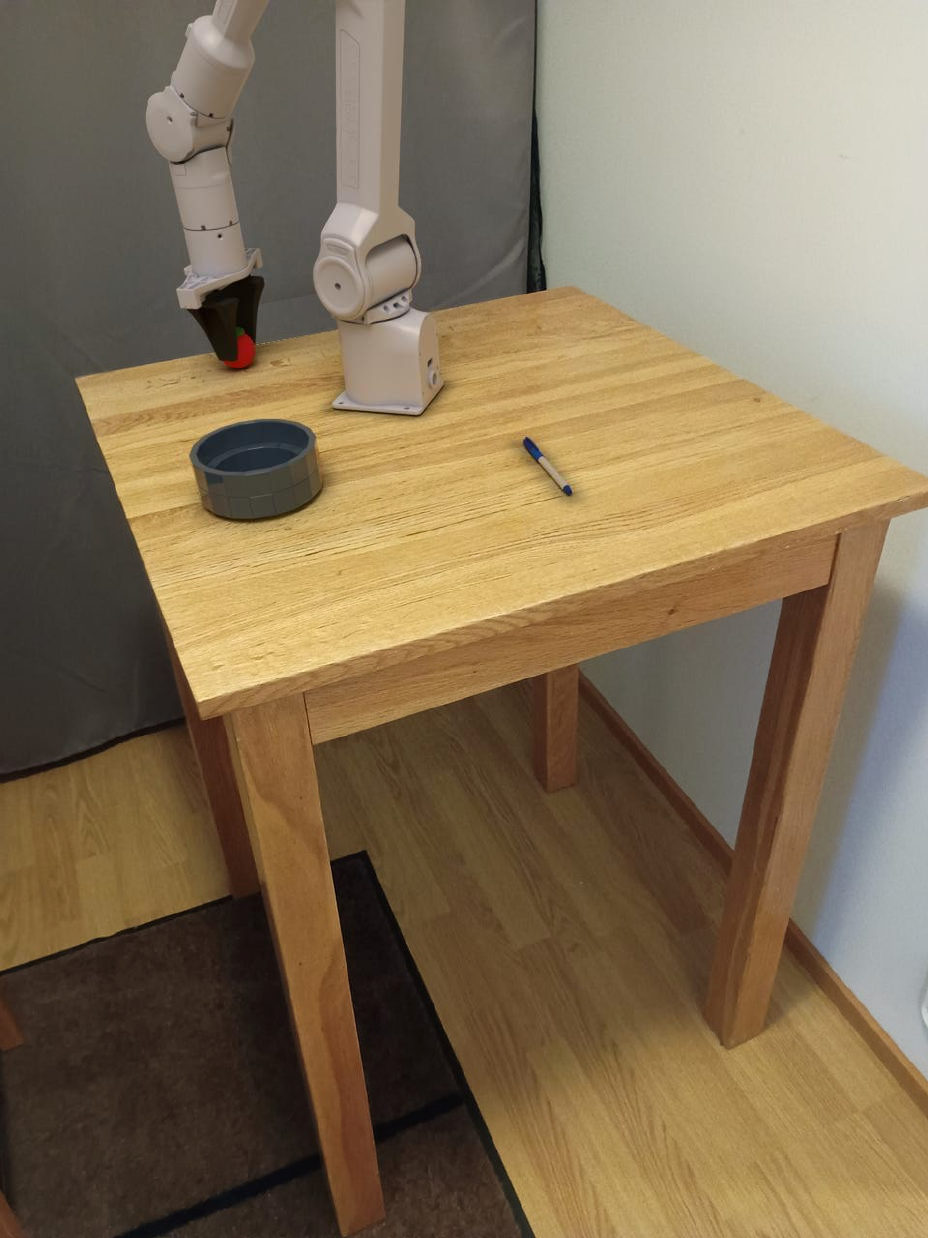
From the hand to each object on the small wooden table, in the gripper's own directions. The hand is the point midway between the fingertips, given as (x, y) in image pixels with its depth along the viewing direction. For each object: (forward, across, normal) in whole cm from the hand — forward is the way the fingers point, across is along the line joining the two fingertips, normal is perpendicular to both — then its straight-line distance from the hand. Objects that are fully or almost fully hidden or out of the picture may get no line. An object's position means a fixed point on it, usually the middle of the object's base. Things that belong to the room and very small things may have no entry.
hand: (237, 352), depth 103 cm
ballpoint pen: (+2, +17, +39) cm, 43 cm away
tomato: (+2, 0, 0) cm, 2 cm away
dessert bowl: (+2, +26, +16) cm, 31 cm away
